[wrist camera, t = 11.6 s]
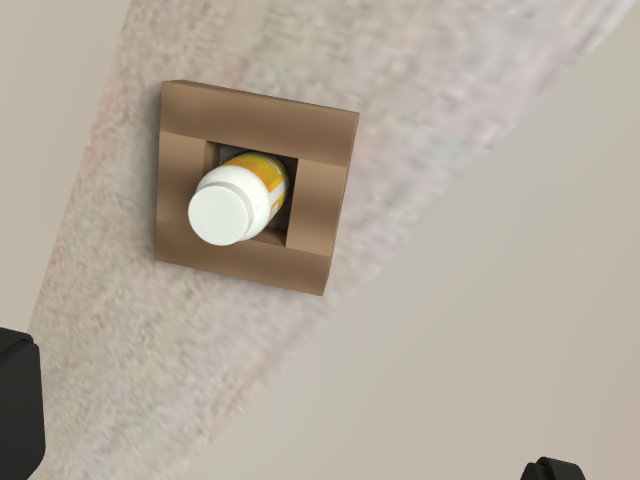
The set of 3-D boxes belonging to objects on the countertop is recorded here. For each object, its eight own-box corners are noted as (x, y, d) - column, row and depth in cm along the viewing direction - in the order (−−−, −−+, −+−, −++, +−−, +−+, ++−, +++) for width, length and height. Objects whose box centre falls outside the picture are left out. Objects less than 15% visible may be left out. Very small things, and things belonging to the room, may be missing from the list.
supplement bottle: (295, 211, 40) (265, 255, 31) (233, 215, 41) (187, 259, 32) (285, 145, 38) (251, 172, 29) (221, 152, 39) (169, 179, 30)
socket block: (182, 79, 37) (161, 81, 34) (359, 113, 36) (355, 118, 33) (173, 244, 42) (154, 259, 39) (328, 277, 41) (322, 296, 38)
